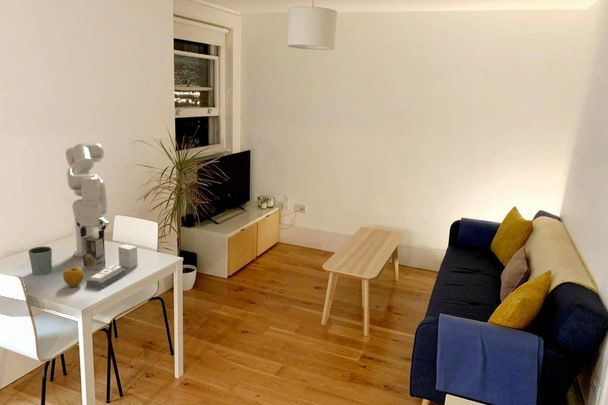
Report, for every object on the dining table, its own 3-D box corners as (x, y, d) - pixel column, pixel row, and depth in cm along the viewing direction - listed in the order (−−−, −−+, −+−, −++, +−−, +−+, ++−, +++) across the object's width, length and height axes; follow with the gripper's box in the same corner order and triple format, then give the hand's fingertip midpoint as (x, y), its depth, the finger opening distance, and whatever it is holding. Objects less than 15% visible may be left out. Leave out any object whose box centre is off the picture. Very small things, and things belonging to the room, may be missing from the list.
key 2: (113, 270, 234) (113, 264, 233) (121, 271, 233) (121, 266, 232) (107, 273, 229) (107, 267, 229) (115, 275, 228) (115, 269, 228)
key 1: (97, 279, 222) (97, 273, 222) (105, 280, 221) (105, 274, 221) (91, 282, 218) (90, 276, 217) (99, 284, 217) (99, 278, 216)
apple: (75, 280, 223) (74, 263, 221) (89, 284, 220) (88, 266, 218) (59, 286, 215) (58, 269, 213) (73, 291, 212) (72, 272, 210)
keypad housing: (111, 271, 236) (111, 266, 235) (125, 274, 234) (125, 268, 233) (86, 286, 218) (86, 280, 217) (101, 288, 216) (101, 282, 215)
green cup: (48, 276, 226) (47, 253, 223) (26, 276, 225) (24, 253, 222) (56, 268, 236) (54, 246, 233) (34, 268, 234) (33, 246, 231)
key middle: (105, 274, 228) (105, 268, 227) (113, 276, 227) (113, 270, 226) (99, 278, 224) (99, 272, 223) (107, 279, 223) (107, 273, 222)
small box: (138, 265, 246) (137, 246, 244) (130, 268, 242) (129, 249, 239) (126, 262, 250) (126, 243, 247) (118, 265, 245) (118, 246, 242)
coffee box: (106, 266, 242) (104, 237, 238) (97, 270, 236) (95, 241, 232) (92, 263, 245) (90, 235, 241) (82, 267, 239) (81, 238, 235)
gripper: (69, 202, 216) (71, 237, 220) (102, 205, 213) (103, 241, 217) (79, 199, 223) (81, 233, 227) (111, 202, 220) (113, 236, 224)
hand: (92, 237), depth 222 cm, fingers open, 9 cm apart
